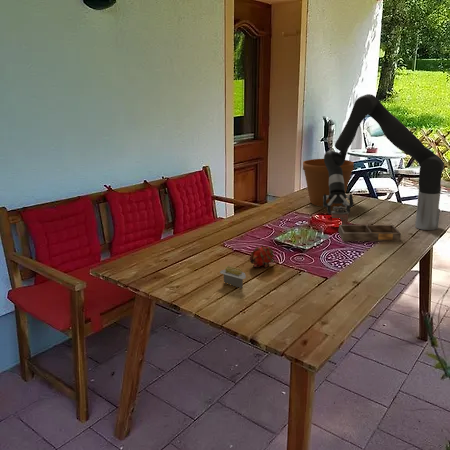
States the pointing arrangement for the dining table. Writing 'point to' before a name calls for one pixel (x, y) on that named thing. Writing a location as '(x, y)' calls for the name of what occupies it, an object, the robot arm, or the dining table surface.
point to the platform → (233, 276)
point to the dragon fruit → (262, 256)
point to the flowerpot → (323, 179)
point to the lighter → (340, 214)
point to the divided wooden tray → (369, 233)
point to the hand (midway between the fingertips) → (338, 213)
